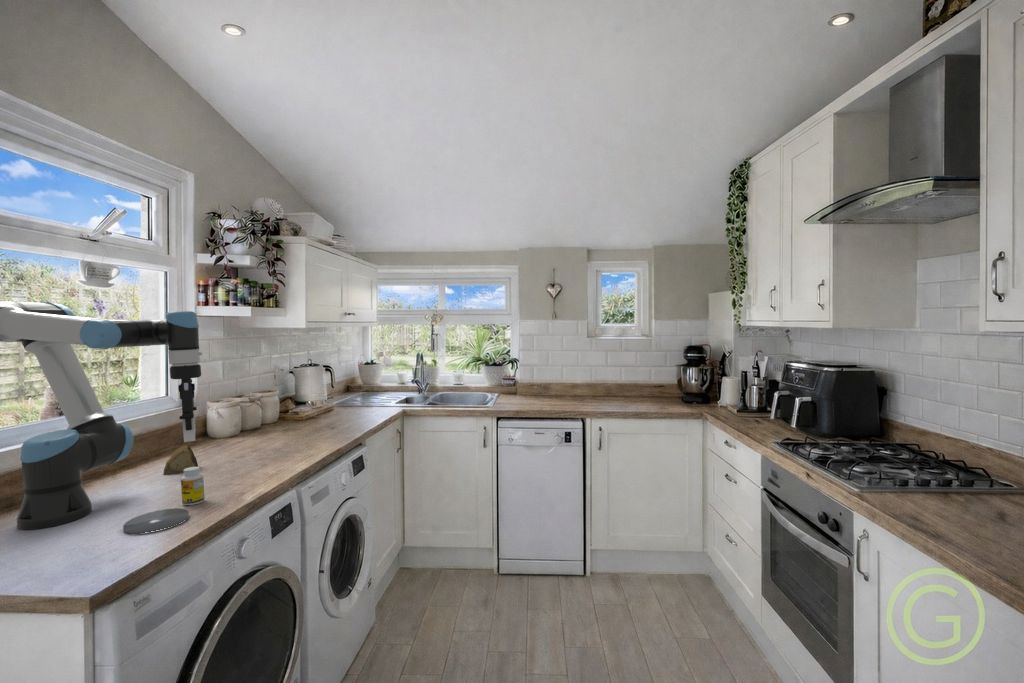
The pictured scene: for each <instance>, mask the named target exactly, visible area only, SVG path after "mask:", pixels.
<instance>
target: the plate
mask: <svg viewBox="0 0 1024 683" xmlns="http://www.w3.org/2000/svg"><path fill="white" fill-rule="evenodd" d="M189 513H190V512H189V510H188V509H185V508H179V507H178V508H167V509H166V508H164V509H159V510H155V511H150V512H147V513H146V512H145V513H143V514H140V515H137V516H135V517H132V518H131V519H128V520H127V521H126V522H125V523H124V524H123V526H122V528H123V532H124V534H126V533H127V535H131V534H139V535H141V534H140V533H145V532H151V531H156V530H160V529H164V528H168V527H171V526H174V525H176V524H179V523H181V522H183V521H184V520H186V519H187V518H188V517H190V514H189ZM188 519H189V518H188ZM188 519H187V520H188ZM187 520H186V521H187ZM183 523H184V522H183ZM181 524H182V523H181ZM179 525H180V524H179Z"/></svg>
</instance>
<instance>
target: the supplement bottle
mask: <svg viewBox="0 0 1024 683" xmlns="http://www.w3.org/2000/svg"><path fill="white" fill-rule="evenodd" d="M200 469H201V468H200V466H198V467H189V468H186V469H184V471H183V475H182V476H181V478H180V488H181V503H182V505H183V506H186V505H190V506H196V505H199V504H201V503H203V502H204V501H205V482H204V480H205V478H204V474H203V473H202V472H201V470H200ZM195 504H196V505H195Z"/></svg>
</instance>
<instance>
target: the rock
mask: <svg viewBox="0 0 1024 683" xmlns="http://www.w3.org/2000/svg"><path fill="white" fill-rule="evenodd" d="M189 467H199V464H198V461H197V457H196V455H195V453H194V451H193V449H192V447H190V445H181V446H180V447H178V448H177V449H175V450H174V452H173V454H172V455H171V456H170V458H169V459H168V460H167V461H166V463H165V466H164V468H163V473H162V474H163V475H168V474H169V475H170V474H177V473H184V469H186V468H189Z"/></svg>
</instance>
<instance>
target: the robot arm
mask: <svg viewBox="0 0 1024 683" xmlns="http://www.w3.org/2000/svg"><path fill="white" fill-rule="evenodd" d="M198 322H199V321H198V315H197V313H196V312H194V311H191V310H190V311H189V310H187V311H185V310H184V311H179V310H178V311H177V310H176V311H168V312H167V313H166V314H165V318H163V319H106V318H95V317H85V316H84V317H82V316H76V314H75V313H74V312H73V311H72V310H71V309H70V308H69V307H67V306H65V305H64V304H60V303H55V302H49V301H39V302H29V301H28V302H27V301H7V300H6V301H5V300H4V301H0V343H1V342H2V343H13V342H19V343H21V344H22V347H23V348H24V351H25V352H27V353H31V354H33V355H35V358H36V360H37V362H38V363H39V365H40V368H41V370H42V372H43V374H44V376H45V378H46V380H47V382H48V384H49V386H50V388H51V390H52V393H53V395H54V397H55V399H56V400H57V403H58V405H59V408H60V409H61V411H62V414H63V415H64V417H65V420H66V421H67V423H68V427H67V428H66V429H59V430H55V431H49V432H46V433H42V434H38V435H34V436H33V437H31V438H29V439H27V440H25V441H24V442H23V443H22V444H21V448H20V449H21V450H20V461H21V471H22V484H23V498H22V502H21V506H20V509H19V511H18V514H17V516H16V527H17V528H18V529H20V530H38V529H39V530H40V529H44V528H49V527H56V526H59V525H64V524H67V523H69V522H74V521H77V520H80V519H82V518H84V517H86V516H88V515H89V514H90V513H92V511H93V506H92V501H91V499H90V498H89V495H88V494H87V492H86V490H85V489H84V486H83V482H82V481H83V480H82V473H84V472H88V471H91V470H95V469H98V468H101V467H104V466H110V465H112V464H114V463H117V462H119V461H121V460H123V459H125V458H126V457H127V456H128V455H129V454H130V453H131V451H132V448H133V445H134V436H133V431H132V429H131V428H130V426H128V425H126V424H125V423H122V422H116V419H115V417H114V416H113V415H112V414H110V413H106V412H105V411H104V409H103V408H102V405H101V403H100V401H99V399H98V397H97V395H96V392H95V391H94V389H93V386H92V385H91V382H90V381H89V379H88V377H87V374H86V373H85V370H84V368H83V366H82V363H81V362H80V360H79V357H78V356H77V353H76V352H75V350H74V347H73V345H79V346H80V345H81V346H82V345H83V346H86V347H87V348H90V349H93V350H95V349H98V350H100V349H101V350H107V349H108V350H109V349H114V348H115V349H117V348H126V347H127V348H130V347H131V348H132V347H150V346H163V345H166V346H168V347H167V348H168V349H167V351H168V352H167V353H168V364H169V365H171V366H170V367H169V377H170V379H171V380H180V384H178V388H177V389H178V392H179V399H180V400H181V413H182V414H181V415H179V420H182V432H183V443H189V442H196V415H195V411H197V406H195V404H194V398H195V391H196V386H195V385H196V384H195V383H192V382H193V380H192V379H197V378H201V376H202V366H201V365H200V364H199V363H200V362H201V357H200V356H203V352H202V351H200V341H199V327H200V326H199V323H198Z"/></svg>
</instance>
